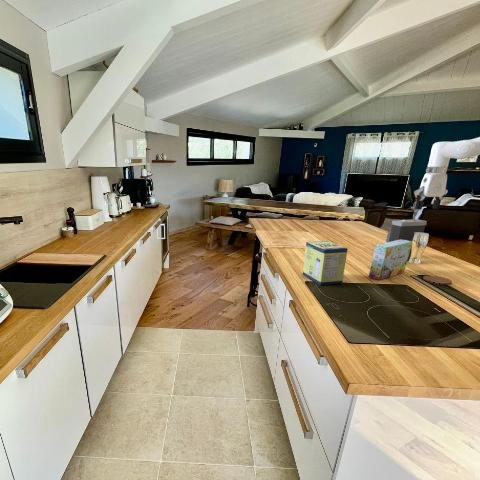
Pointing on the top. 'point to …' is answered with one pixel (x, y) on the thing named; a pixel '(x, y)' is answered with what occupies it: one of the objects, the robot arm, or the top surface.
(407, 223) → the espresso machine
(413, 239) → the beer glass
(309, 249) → the protein box
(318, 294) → the top surface
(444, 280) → the coaster
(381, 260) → the snack box
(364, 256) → the top surface
